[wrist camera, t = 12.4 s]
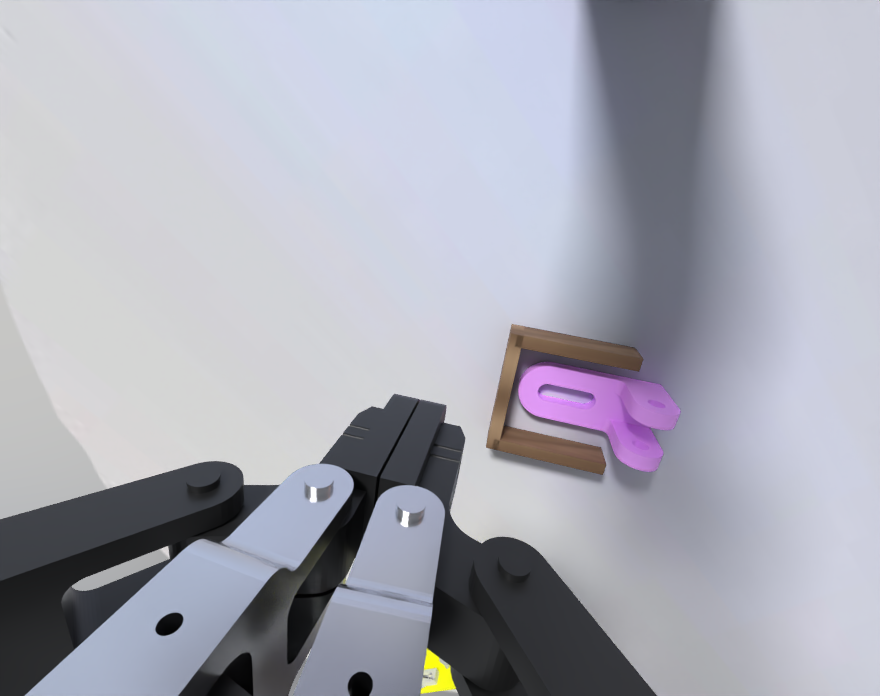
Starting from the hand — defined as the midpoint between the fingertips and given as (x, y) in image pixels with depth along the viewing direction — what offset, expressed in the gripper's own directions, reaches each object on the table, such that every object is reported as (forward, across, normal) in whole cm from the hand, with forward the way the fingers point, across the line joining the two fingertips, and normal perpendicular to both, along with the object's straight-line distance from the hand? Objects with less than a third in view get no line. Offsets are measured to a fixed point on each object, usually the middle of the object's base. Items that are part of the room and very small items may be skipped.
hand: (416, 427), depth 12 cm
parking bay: (+29, -9, +11) cm, 32 cm away
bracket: (+29, -11, +11) cm, 33 cm away
